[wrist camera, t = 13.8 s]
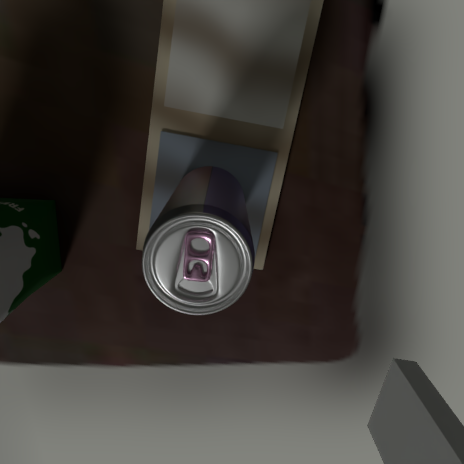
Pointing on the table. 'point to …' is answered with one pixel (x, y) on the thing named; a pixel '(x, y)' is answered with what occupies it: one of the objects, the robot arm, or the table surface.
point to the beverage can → (200, 244)
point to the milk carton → (26, 249)
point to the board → (228, 100)
